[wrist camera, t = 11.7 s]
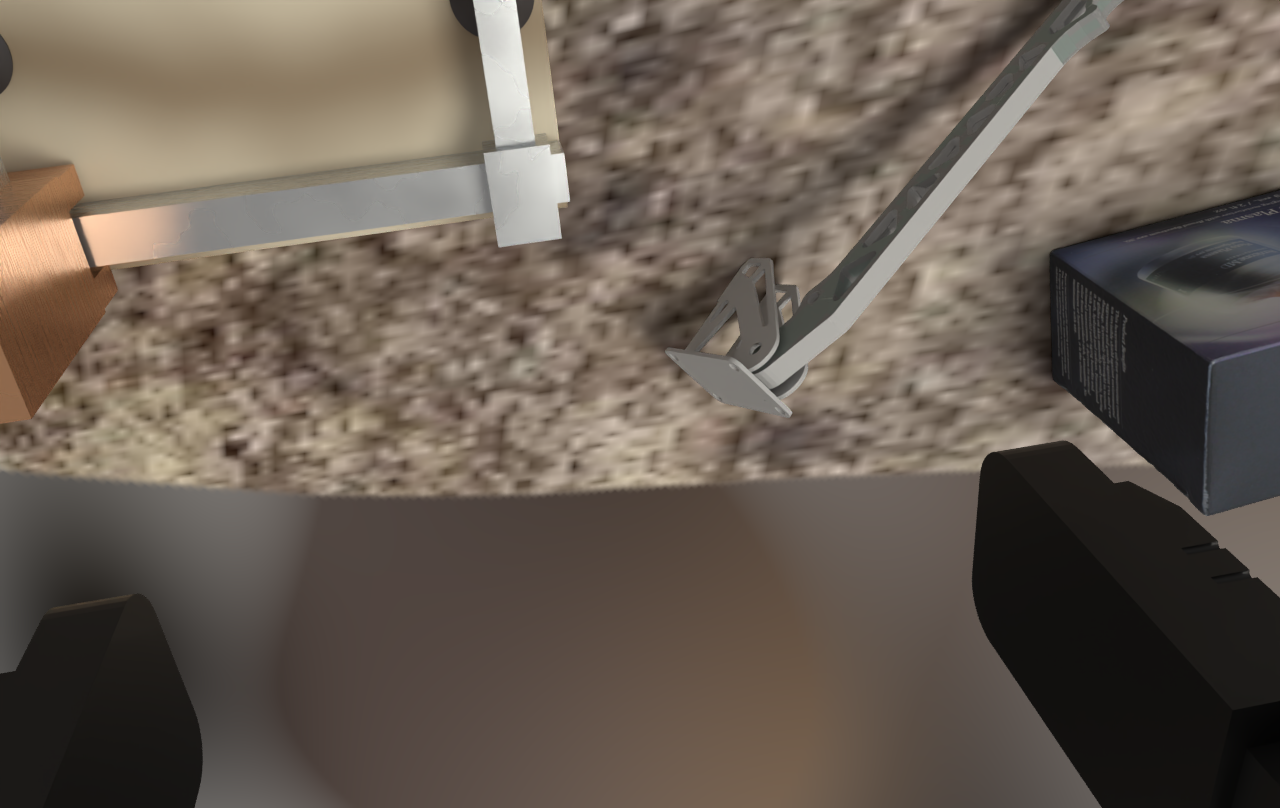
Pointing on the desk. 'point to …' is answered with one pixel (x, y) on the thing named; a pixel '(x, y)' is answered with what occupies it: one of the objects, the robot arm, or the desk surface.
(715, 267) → the desk surface
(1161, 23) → the desk surface
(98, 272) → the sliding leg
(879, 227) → the bracket
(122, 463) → the desk surface
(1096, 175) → the desk surface
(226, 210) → the divider beam
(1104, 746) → the robot arm
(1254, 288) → the small box
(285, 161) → the bolt plate
